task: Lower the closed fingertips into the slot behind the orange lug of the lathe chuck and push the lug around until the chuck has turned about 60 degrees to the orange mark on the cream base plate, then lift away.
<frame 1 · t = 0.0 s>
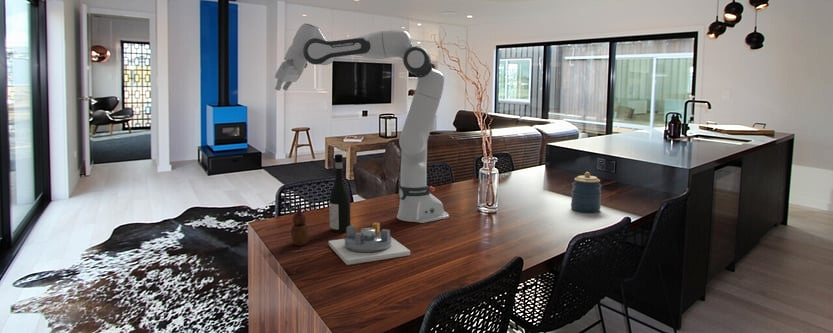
hand: (280, 89, 208), 54 cm above the table, tool tilted 30°, fingers open, 8 cm apart
wine bottle: (340, 230, 194), on the table
lathe chuck: (368, 236, 170), point 5 cm above the table, hinge at 0.0°
canister: (585, 210, 228), on the table
wooden figurine: (300, 244, 177), on the table
base plate: (368, 249, 171), on the table
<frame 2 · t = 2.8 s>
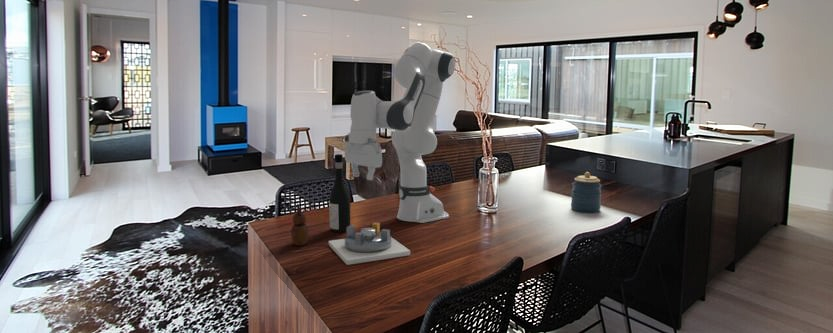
hand: (362, 178, 171), 25 cm above the table, tool pointing down, fingers open, 8 cm apart
nothing on the table moved.
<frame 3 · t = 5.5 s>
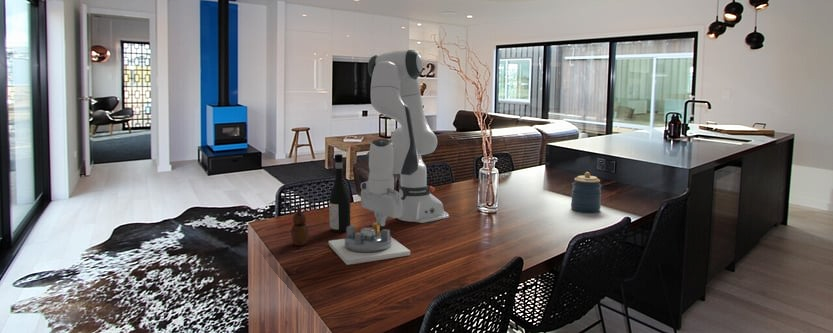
hand: (380, 225, 174), 8 cm above the table, tool pointing down, fingers closed
lathe chuck: (368, 236, 170), point 5 cm above the table, hinge at 0.0°, touching gripper
everything else where it was.
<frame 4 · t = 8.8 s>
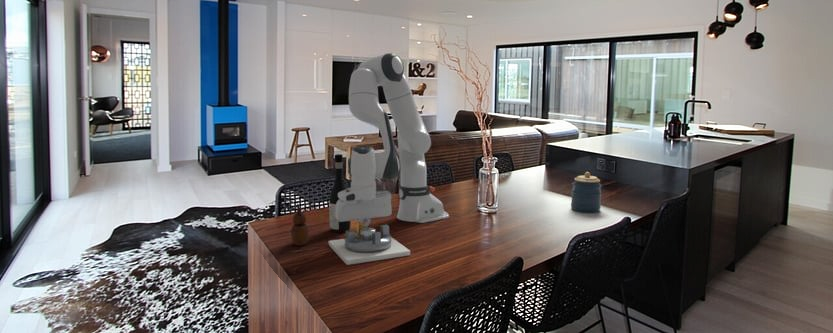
hand: (364, 230, 176), 5 cm above the table, tool pointing down, fingers closed, pressing on lathe chuck
lathe chuck: (368, 236, 170), point 5 cm above the table, hinge at 51.0°, touching gripper
everything else where it was.
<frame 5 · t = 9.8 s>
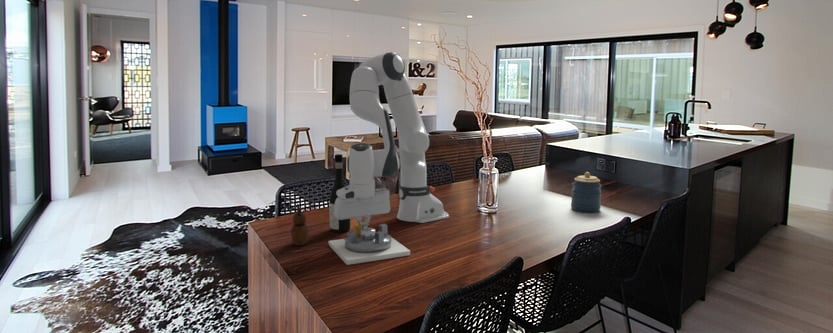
hand: (363, 228, 176), 6 cm above the table, tool pointing down, fingers closed
lathe chuck: (368, 236, 170), point 5 cm above the table, hinge at 61.2°, touching gripper
everything else where it was.
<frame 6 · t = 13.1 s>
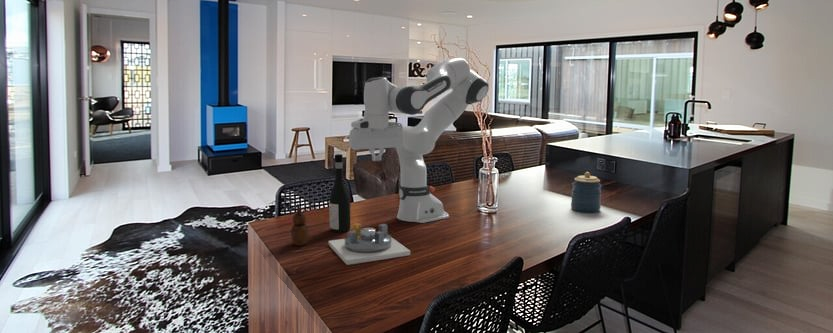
hand: (376, 160, 180), 29 cm above the table, tool pointing down, fingers closed
lathe chuck: (368, 236, 170), point 5 cm above the table, hinge at 61.2°
everything else where it was.
at the end: lathe chuck at +61° (first picture: +0°); wooden figurine moved 0.2 cm from its start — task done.
